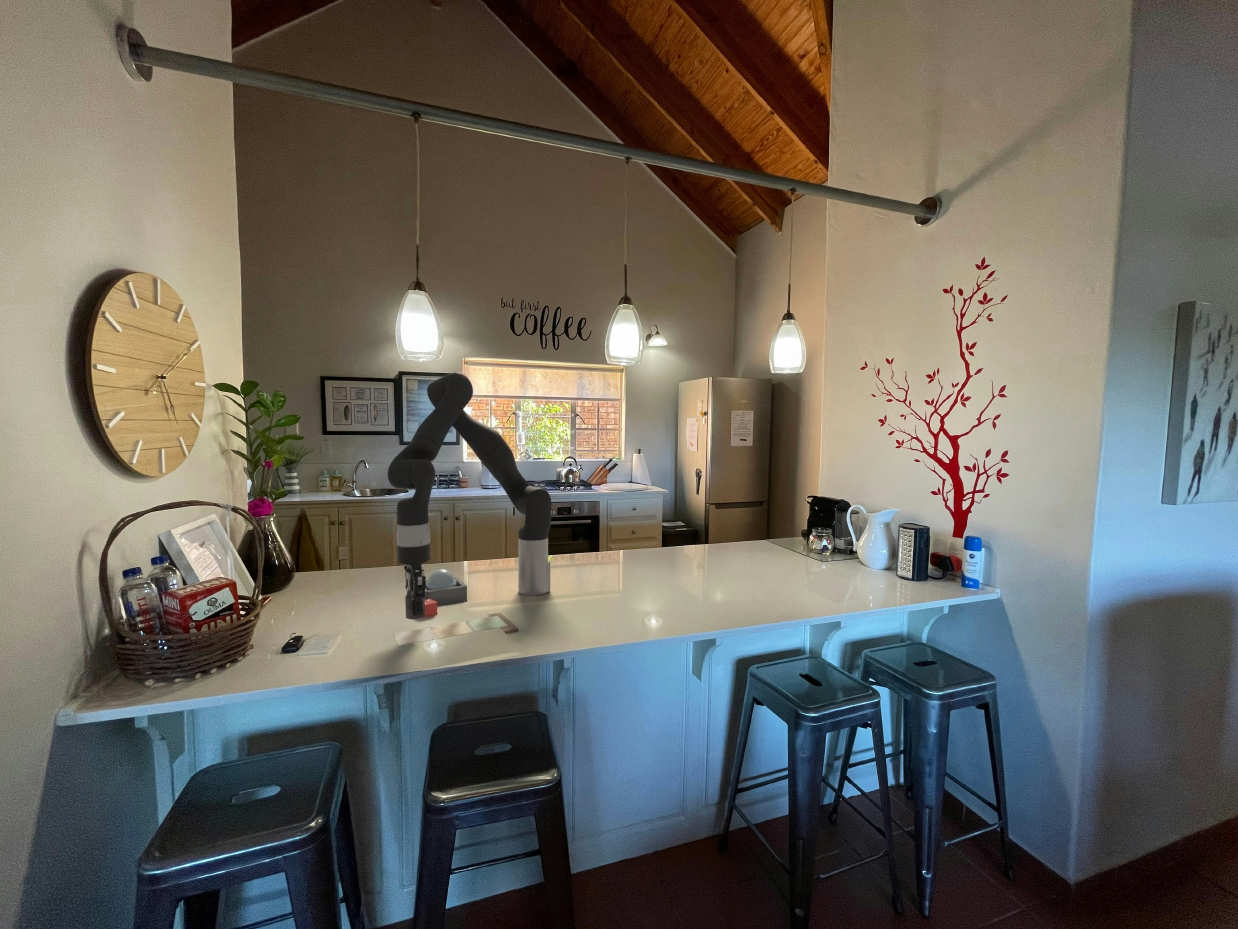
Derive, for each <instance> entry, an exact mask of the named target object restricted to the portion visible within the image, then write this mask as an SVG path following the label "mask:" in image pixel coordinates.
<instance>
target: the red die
mask: <svg viewBox="0 0 1238 929" xmlns="http://www.w3.org/2000/svg"><path fill="white" fill-rule="evenodd" d="M435 615H438V606H437V602H436V601H433V600H431V599H428V600H425V616H424V617H422V619H423V618H428V617H431V616H435Z"/></svg>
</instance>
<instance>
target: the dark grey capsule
mask: <svg viewBox="0 0 1238 929" xmlns="http://www.w3.org/2000/svg"><path fill="white" fill-rule="evenodd" d="M416 594H420V591H417V592H416ZM411 597H412V596H411V591H410V590H409V591H408V592H407V591H406V594H405V597H404V599H405V600H404V601H405V604H404V605H405V618H406V619H409V620H418V619H423V617H424V616H425V598H424V599H422V609H423V613H422V614H421V615H417V616H414V615H413V614H412V599H411ZM424 618H425V617H424Z"/></svg>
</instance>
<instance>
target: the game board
mask: <svg viewBox="0 0 1238 929" xmlns="http://www.w3.org/2000/svg"><path fill="white" fill-rule="evenodd" d="M487 616H488V617H483V618H482V617H481V618H477V619H470V620H466V622H465V621H459V622H454V623H453V622H452V623H448V624H443V625H436V626H431V627H430V628H429V627H425V628H418V629H411V630H406V631H401V632H396V633H395V632H394V633H393V634H392V635H393V637H394V639H395V642H396V643H397V646H405V645H406V646H407V645H411V644H416V643H417V644H418V643H423V642H427V641H433V640H436V637H437V639H438V640H439V639H444V638H450V637H454V636H455V637H456V636H461V635H466V634H471V633H474V632H476V633H477V632H483V631H487V630H493V629H498V628H500V629H501V630H502V631H503V633H505V634H510V633H515V632H519V631H520V630H519V628H518V627H517V625H515V623H513V622H512V621H510V619H509V618H507V616H506V615H504V614H503V613H502V612H501V611H500V612H494V613H489V614H487ZM469 626H470V627H471V628H470V627H469ZM431 630H432V631H433V633H432V631H431ZM434 634H435V635H434ZM435 636H436V637H435Z"/></svg>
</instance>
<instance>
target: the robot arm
mask: <svg viewBox="0 0 1238 929" xmlns="http://www.w3.org/2000/svg"><path fill="white" fill-rule="evenodd" d="M426 394H427V397H428V399H429V401H430V403H431V405H432V406H433V407H434V409H433V410H432V411H431V412H430V413H429V414H428V416H426V417H425V418H424V420H423V421H422V422H421V423H420V424H419V426H418V427H417V429H416V430H415V433H414V435H413V437H412V439H411V441H410V443H409V444H408V445H406V446H405V447H404V448H403V449H402V450H400V452H399V453H398V454H397V455H396V456H395V457H394V458H393V460H391V462H390V464H389V466H388V469H387V481H388V483H389V484H390V485H391V486H392V487H393V488H396V489H415V490H414V494H413V496H412V497H407V498H402V499H401V500H398V502H397V504H396V519H397V520H396V522H397V525H396V526H397V527H396V561H397V563H398V564H401V565H404V566H403V571H404V583H405V590H406V593H407V592H408V591H409V590H410V591H411V596H412V597H411V599H412V614H413V615H414V616H417V615H421V614H422V613H423V609H422V599H424V598H425V581H426V580H427V577H426V575H425V573H426V572H425V569H423V566H422V564H424V563H425V564H426V563H427V562H429V561H431V530H430V523H429V519H430V518H429V504H430V499H431V496H432V495H431V494H432V490H433V487H434V483H435V479H436V468H435V466H434V464H433V463H432V462H433V461H434V460H435V459H436V458H437V456H438V454H439V452H440V449H441V448H442V446H443V444H444V441H445V439H446V438H447V435H448V434H449V432H450V429H451V428H454V430H455V431H456V432H457V433H458V434H459V436H460V437H461V438H462V439H463V441H465V443H466V444H467V445H468V446H469V447H470V449H471V450H472V452H473V453H474V454H475V456H476V457H477V458H478V460H479V461H480V462H481V463H482V465H483V466H484V467H485V468H486V470H488V471H489V473H490V474H491V475H492V477H493V478H494V479H495V480H496V481H497V483H498V484H499V485H500V486H501V487H502V489H503V491H505V493H506V495H507V497H508V498H509V500H510V502H511V503H512V505H513V506H514V507H515V510H517V512H519V513H520V514H522V515H523V516H524V515H525V516H524V517H525V520H524V525H523V526H522V527H520V528H519V529H518V535H517V536H518V538H517V539H518V540H517V541H518V542H517V543H518V551H517V552H518V556H517V557H518V562H517V563H518V568H517V569H518V581H517V582H518V586H517V587H518V593H519V594H520V595H522V596H523V595H524V596H540V595H541V596H542V595H544V594H547V593H550V592H551V561H550V560H549V532H550V529H551V525H552V505H553V504H552V498H551V495H550V493H549V491H548V490H546V489H545V488H542V487H537V486H533V485H531V484H530V483H529V482H528V481H527V480H526V478H524V477H523V475H522V473H521V472H520V471H519V469H518V467H517V463H516V459H515V456H514V453H513V450H512V449H511V447H510V446H509V444H508V443H507V441H505V439H504V438H503V436H502V435H501V434H500V433H499V432H498V431H497V430H495V429H494V428H492V427H490V426H489V425H486V424H484V423H482V422H480V421H479V420H476V419H475V418H473V417H472V416H471V415H469V414H468V413H467V412H466V410H464V409H465V408H466V406H467V405H468V404H469V402H470V401H471V400H472V397H473V395H474V388H473V384H472V382H471V380H470V379H469V377H468V376H467V375H465V373H462V372H458V371H457V372H456V371H455V372H450V373H447V374H446V375H443V376H442V377H440V378H438V379H436V380H433V381H432V382H430V383H429V384H428V386H427V388H426ZM417 591H420V594H416V592H417Z"/></svg>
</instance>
